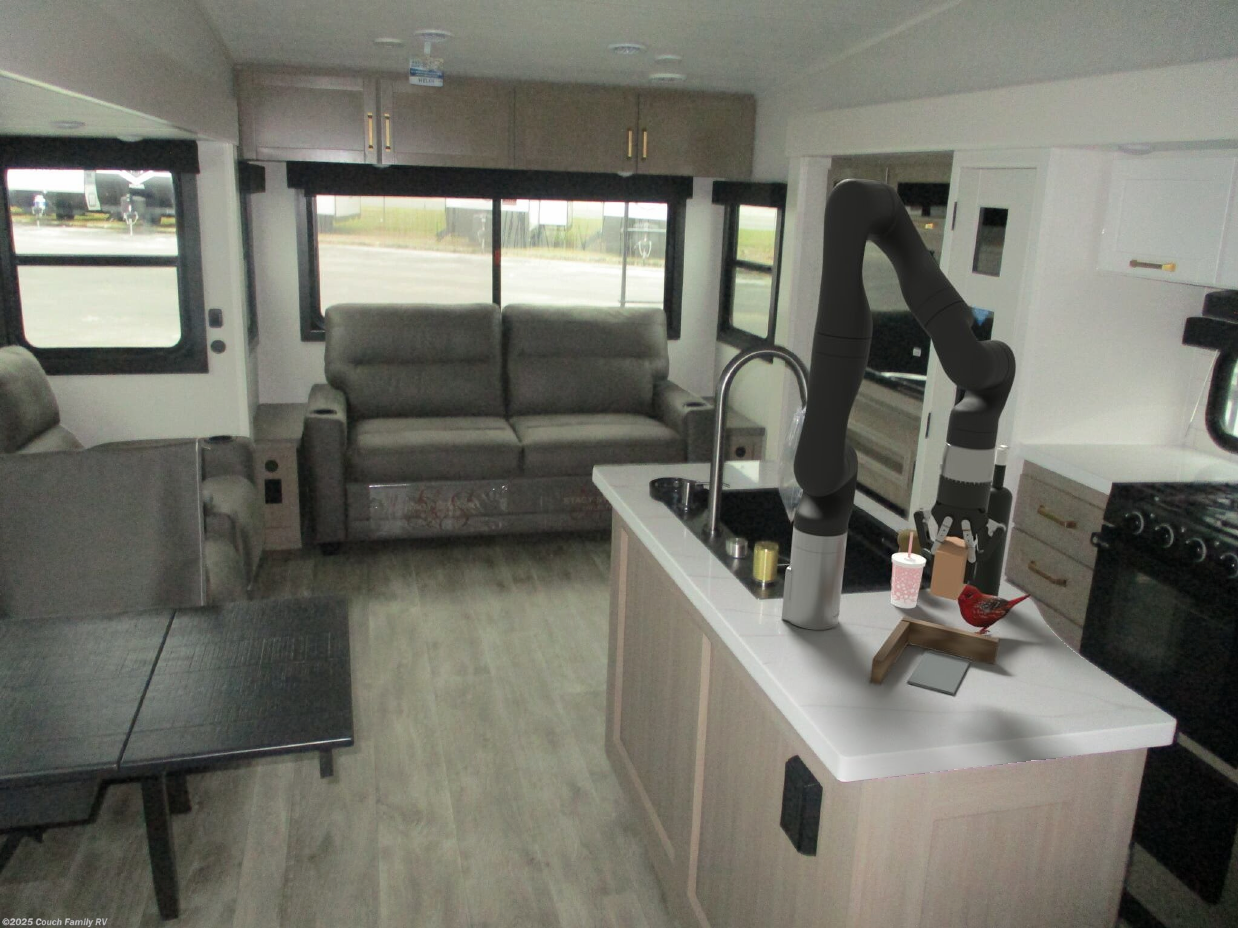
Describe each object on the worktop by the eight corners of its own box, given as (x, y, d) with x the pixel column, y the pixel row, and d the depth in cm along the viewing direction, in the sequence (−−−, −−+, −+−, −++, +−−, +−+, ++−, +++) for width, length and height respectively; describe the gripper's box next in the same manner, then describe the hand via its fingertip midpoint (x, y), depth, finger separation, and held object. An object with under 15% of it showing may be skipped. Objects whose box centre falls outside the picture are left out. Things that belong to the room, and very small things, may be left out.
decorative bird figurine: (942, 637, 169) (950, 583, 167) (1019, 623, 176) (1027, 571, 174) (954, 644, 167) (962, 590, 164) (1032, 629, 174) (1040, 577, 171)
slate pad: (907, 682, 153) (907, 680, 153) (926, 651, 164) (926, 649, 164) (953, 695, 149) (953, 692, 149) (970, 662, 160) (970, 660, 160)
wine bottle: (966, 602, 185) (987, 448, 177) (964, 590, 190) (985, 440, 182) (998, 606, 183) (1021, 451, 176) (995, 594, 189) (1018, 444, 181)
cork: (923, 591, 189) (930, 537, 186) (891, 588, 190) (897, 534, 187) (920, 580, 195) (927, 527, 192) (889, 576, 196) (895, 524, 193)
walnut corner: (870, 681, 153) (872, 658, 152) (901, 637, 169) (903, 616, 168) (973, 709, 145) (977, 685, 144) (995, 660, 161) (999, 638, 160)
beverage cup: (926, 608, 181) (936, 537, 177) (896, 611, 180) (905, 538, 176) (909, 595, 187) (918, 526, 183) (880, 597, 185) (888, 527, 182)
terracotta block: (943, 574, 158) (949, 533, 156) (969, 579, 156) (975, 538, 154) (929, 594, 149) (935, 551, 147) (956, 600, 148) (962, 556, 146)
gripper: (1020, 475, 148) (1003, 582, 152) (924, 460, 154) (910, 562, 159) (1012, 487, 141) (994, 597, 146) (912, 470, 148) (898, 576, 153)
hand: (951, 578), depth 152 cm, fingers closed on terracotta block, 4 cm apart
